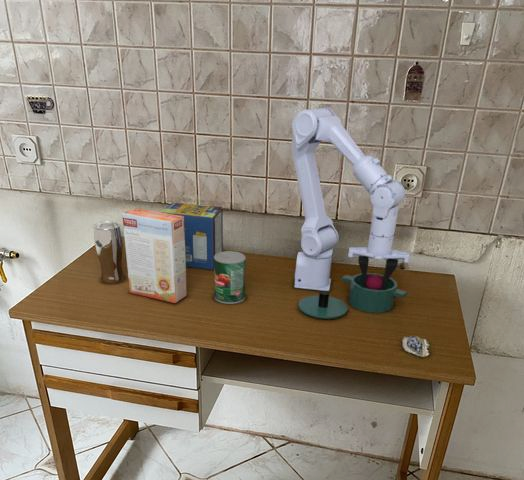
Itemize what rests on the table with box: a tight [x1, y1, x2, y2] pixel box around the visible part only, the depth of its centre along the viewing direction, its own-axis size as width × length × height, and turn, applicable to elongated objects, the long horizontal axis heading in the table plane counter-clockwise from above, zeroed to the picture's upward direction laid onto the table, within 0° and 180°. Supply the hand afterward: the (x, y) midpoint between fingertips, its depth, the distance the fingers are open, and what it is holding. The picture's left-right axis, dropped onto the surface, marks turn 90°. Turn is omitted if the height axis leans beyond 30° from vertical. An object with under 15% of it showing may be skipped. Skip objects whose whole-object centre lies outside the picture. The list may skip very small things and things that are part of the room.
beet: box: [366, 272, 383, 290], centre depth 131 cm, size 4×4×5 cm
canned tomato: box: [213, 250, 247, 305], centre depth 131 cm, size 8×8×11 cm
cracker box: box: [121, 207, 188, 304], centre depth 128 cm, size 14×6×21 cm, turn 65°
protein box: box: [160, 202, 224, 271], centre depth 150 cm, size 10×15×16 cm
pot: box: [341, 272, 408, 314], centre depth 132 cm, size 11×17×6 cm
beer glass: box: [93, 220, 125, 285], centre depth 136 cm, size 7×7×15 cm
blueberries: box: [401, 335, 430, 358], centre depth 114 cm, size 7×8×2 cm
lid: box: [297, 290, 348, 320], centre depth 128 cm, size 12×12×5 cm
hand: (373, 285), depth 131 cm, fingers closed on beet, 4 cm apart
